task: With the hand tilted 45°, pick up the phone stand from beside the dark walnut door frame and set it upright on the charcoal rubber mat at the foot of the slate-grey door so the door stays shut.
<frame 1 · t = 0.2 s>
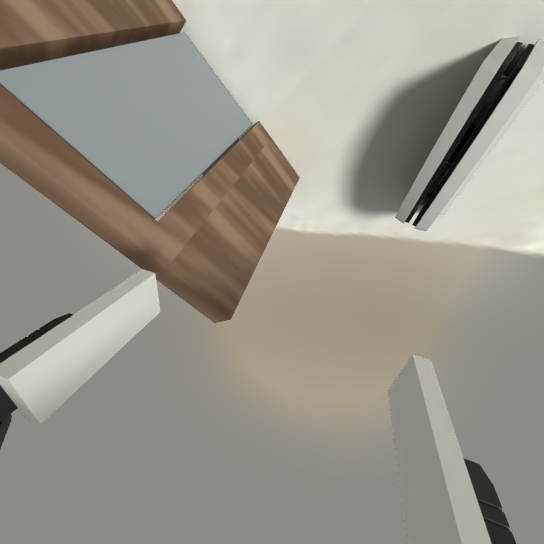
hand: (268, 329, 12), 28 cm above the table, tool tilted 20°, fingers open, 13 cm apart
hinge: (454, 139, 27), on the table
door: (166, 117, 23), point 11 cm above the table, hinge at 0.0°
door frame: (219, 83, 30), on the table
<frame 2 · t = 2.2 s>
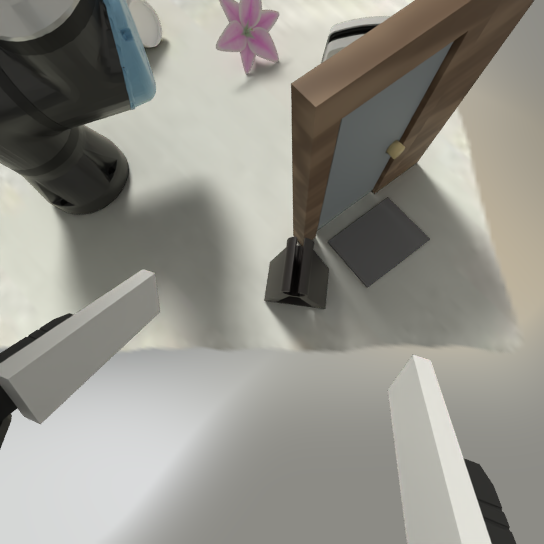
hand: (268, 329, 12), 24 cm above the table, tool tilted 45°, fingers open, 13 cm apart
lily: (252, 58, 49), on the table
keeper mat: (377, 240, 37), on the table
phone stand: (296, 285, 37), on the table
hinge: (364, 76, 45), on the table
door: (362, 165, 28), point 11 cm above the table, hinge at 0.0°
door frame: (340, 209, 39), on the table
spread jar: (142, 36, 53), on the table
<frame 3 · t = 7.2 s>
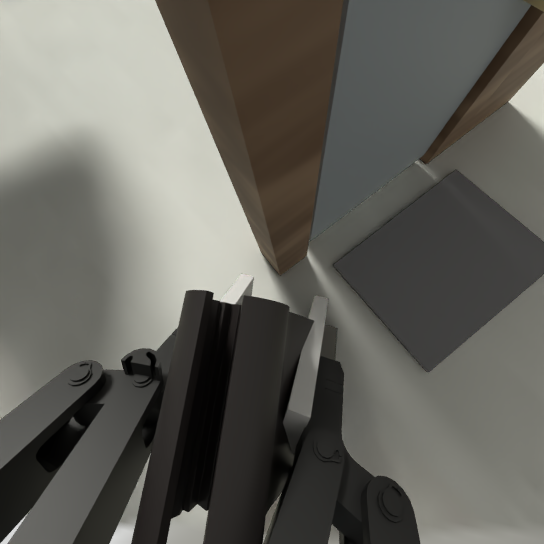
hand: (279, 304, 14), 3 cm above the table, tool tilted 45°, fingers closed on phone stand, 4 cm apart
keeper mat: (441, 262, 17), on the table
phone stand: (266, 363, 17), on the table, touching gripper
door: (456, 25, 8), point 11 cm above the table, hinge at 0.0°
door frame: (357, 198, 19), on the table
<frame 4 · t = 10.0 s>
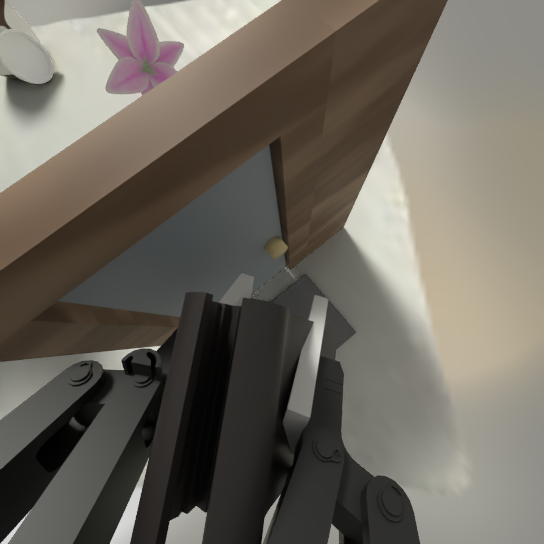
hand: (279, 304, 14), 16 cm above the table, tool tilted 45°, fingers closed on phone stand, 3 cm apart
lily: (163, 96, 41), on the table
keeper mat: (291, 333, 29), on the table
phone stand: (266, 364, 17), point 13 cm above the table, touching gripper
door: (229, 273, 20), point 11 cm above the table, hinge at 0.0°
door frame: (248, 291, 31), on the table
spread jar: (34, 69, 45), on the table
when the fingers open (5 cm above the table, at t = 13.1 s): phone stand drops 1 cm, resting on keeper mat.
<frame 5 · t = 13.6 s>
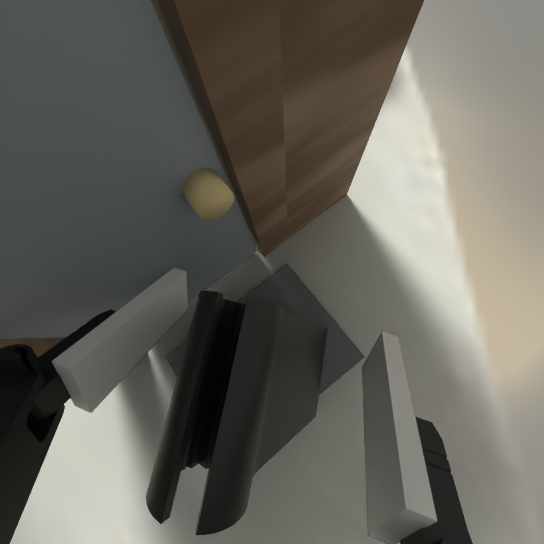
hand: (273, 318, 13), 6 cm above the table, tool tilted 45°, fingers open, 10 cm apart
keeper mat: (262, 356, 19), on the table
phone stand: (261, 356, 19), resting on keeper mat
door: (103, 246, 9), point 11 cm above the table, hinge at 0.0°, touching gripper
door frame: (198, 288, 20), on the table
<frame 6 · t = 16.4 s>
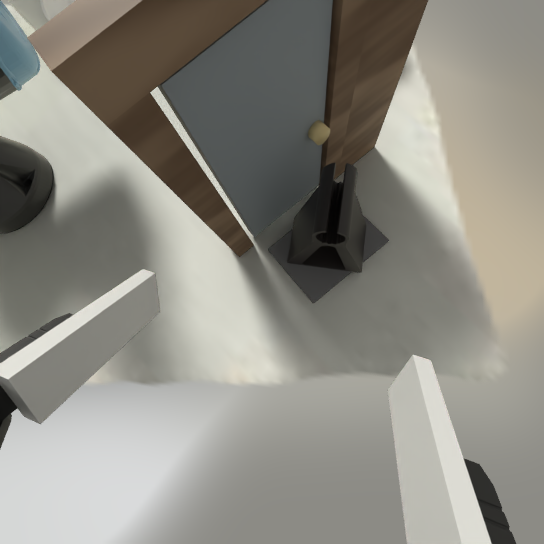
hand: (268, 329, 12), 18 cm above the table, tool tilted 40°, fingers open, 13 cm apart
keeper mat: (326, 245, 31), on the table
phone stand: (326, 245, 31), resting on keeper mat
door: (276, 157, 22), point 11 cm above the table, hinge at 0.0°
door frame: (283, 210, 33), on the table
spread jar: (72, 28, 48), on the table
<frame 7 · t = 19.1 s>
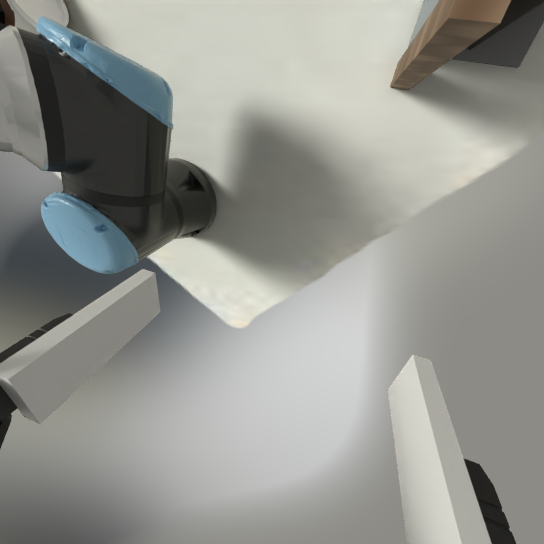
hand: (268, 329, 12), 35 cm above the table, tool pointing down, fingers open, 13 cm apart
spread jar: (43, 15, 41), on the table
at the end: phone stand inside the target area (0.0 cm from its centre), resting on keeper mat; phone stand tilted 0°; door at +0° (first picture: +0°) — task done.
